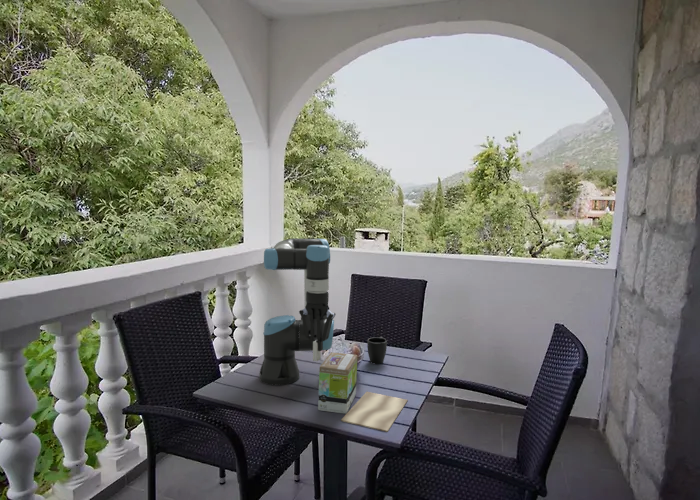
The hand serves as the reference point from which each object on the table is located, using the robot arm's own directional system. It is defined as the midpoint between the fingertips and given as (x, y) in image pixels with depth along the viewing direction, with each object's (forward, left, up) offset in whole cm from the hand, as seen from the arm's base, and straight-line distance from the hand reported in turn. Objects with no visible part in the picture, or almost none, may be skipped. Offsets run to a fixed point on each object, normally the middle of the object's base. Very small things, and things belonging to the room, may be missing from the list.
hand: (316, 359), depth 142 cm
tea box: (+8, 0, -14) cm, 16 cm away
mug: (+7, +43, -14) cm, 46 cm away
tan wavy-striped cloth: (+22, 0, -14) cm, 26 cm away
